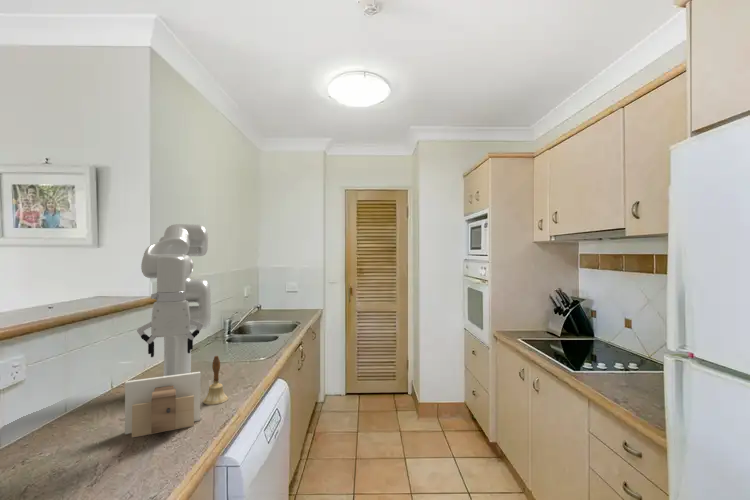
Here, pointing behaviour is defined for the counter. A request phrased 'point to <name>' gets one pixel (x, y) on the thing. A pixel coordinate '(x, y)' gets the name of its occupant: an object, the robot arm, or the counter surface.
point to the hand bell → (215, 387)
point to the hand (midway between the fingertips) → (171, 354)
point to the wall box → (163, 409)
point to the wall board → (141, 401)
